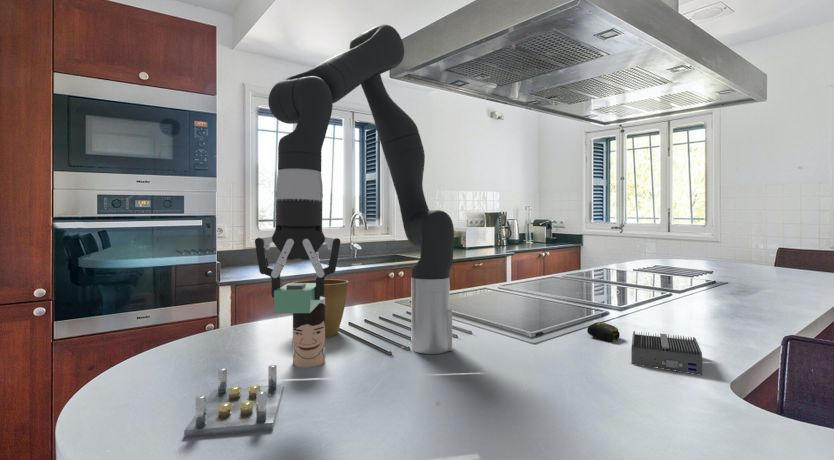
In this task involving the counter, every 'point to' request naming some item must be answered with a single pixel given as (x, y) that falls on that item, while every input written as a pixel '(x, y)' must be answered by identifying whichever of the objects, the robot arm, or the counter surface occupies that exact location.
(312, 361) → the printed cylinder
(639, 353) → the electronic device
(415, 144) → the robot arm
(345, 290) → the plant pot
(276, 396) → the chassis
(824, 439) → the counter surface
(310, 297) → the green block
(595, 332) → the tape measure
